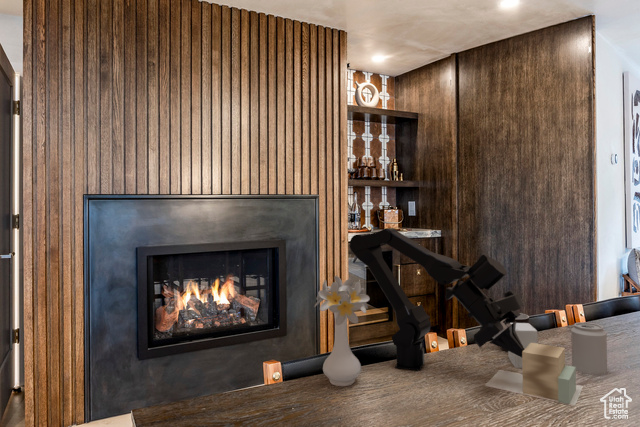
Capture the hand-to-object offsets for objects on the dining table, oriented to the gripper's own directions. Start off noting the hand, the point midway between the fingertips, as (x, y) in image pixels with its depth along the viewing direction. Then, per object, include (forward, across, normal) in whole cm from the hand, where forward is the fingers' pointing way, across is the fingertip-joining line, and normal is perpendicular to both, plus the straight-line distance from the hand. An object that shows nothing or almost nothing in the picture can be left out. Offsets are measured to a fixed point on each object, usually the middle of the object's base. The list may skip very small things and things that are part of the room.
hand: (525, 356), depth 99 cm
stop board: (+11, 0, -1) cm, 11 cm away
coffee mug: (-2, +28, +14) cm, 32 cm away
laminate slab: (+6, +2, +5) cm, 8 cm away
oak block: (+7, 0, +2) cm, 8 cm away
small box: (+3, +16, +9) cm, 18 cm away
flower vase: (-20, -19, +32) cm, 42 cm away
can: (+13, +20, -2) cm, 24 cm away
